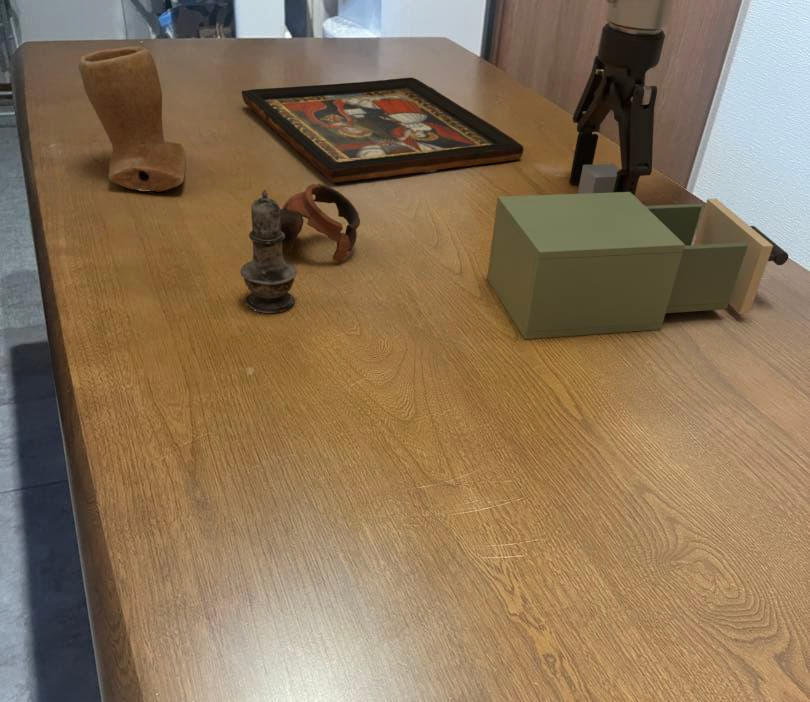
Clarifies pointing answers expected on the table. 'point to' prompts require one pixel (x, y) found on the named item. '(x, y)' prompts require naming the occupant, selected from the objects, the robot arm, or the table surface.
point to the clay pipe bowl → (132, 118)
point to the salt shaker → (268, 261)
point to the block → (598, 178)
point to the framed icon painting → (379, 128)
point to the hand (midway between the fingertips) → (597, 202)
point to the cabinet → (582, 264)
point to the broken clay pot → (319, 218)
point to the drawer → (716, 257)
